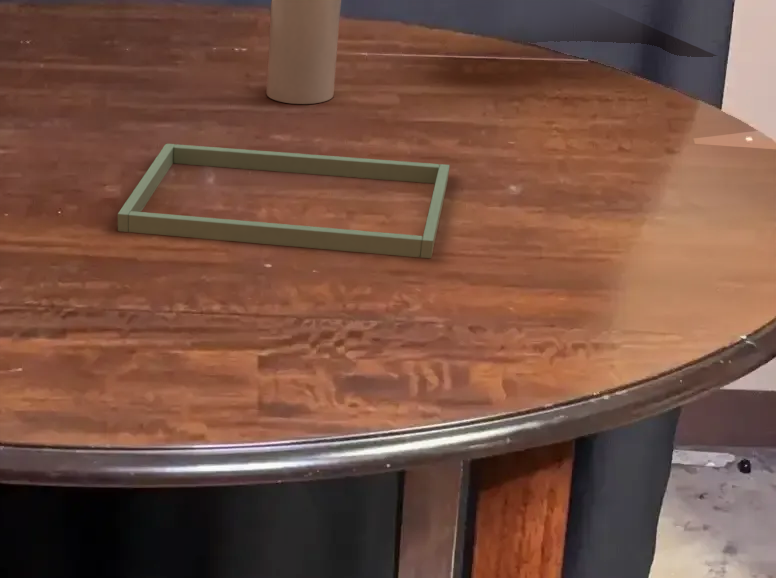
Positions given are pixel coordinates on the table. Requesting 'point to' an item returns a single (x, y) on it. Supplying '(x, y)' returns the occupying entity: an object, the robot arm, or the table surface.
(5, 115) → the table surface
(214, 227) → the sage frame
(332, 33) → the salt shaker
